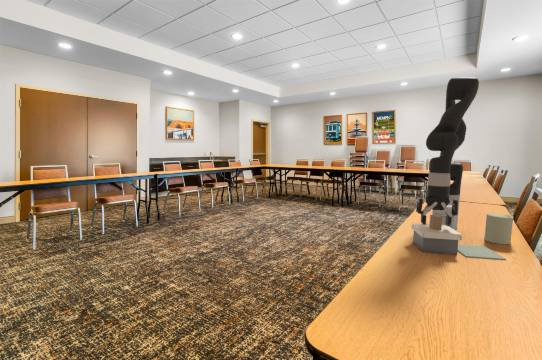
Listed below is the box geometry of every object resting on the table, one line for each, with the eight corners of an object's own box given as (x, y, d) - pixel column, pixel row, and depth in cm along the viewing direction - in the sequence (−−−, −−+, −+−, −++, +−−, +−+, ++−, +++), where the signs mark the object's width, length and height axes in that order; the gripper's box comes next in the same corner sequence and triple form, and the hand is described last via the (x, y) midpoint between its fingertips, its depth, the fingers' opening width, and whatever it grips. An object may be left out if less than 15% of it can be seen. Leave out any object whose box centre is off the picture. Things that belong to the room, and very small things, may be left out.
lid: (411, 228, 120) (412, 211, 119) (446, 230, 118) (447, 213, 117) (422, 237, 107) (423, 219, 106) (461, 240, 105) (463, 221, 104)
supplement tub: (435, 232, 135) (437, 202, 134) (458, 237, 128) (461, 205, 127) (427, 235, 129) (429, 204, 128) (450, 241, 122) (453, 207, 121)
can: (511, 246, 117) (514, 217, 115) (483, 241, 122) (486, 214, 121) (510, 240, 124) (513, 214, 123) (483, 236, 129) (486, 211, 128)
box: (412, 242, 120) (414, 226, 119) (443, 244, 118) (445, 227, 117) (422, 251, 108) (423, 234, 107) (457, 254, 106) (458, 236, 105)
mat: (449, 244, 117) (449, 243, 117) (484, 247, 115) (484, 246, 115) (465, 256, 104) (465, 255, 104) (505, 259, 101) (505, 258, 101)
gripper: (454, 183, 113) (451, 223, 114) (415, 182, 115) (413, 221, 117) (463, 186, 105) (459, 228, 107) (422, 184, 108) (419, 226, 110)
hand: (435, 224), depth 112 cm, fingers open, 8 cm apart
